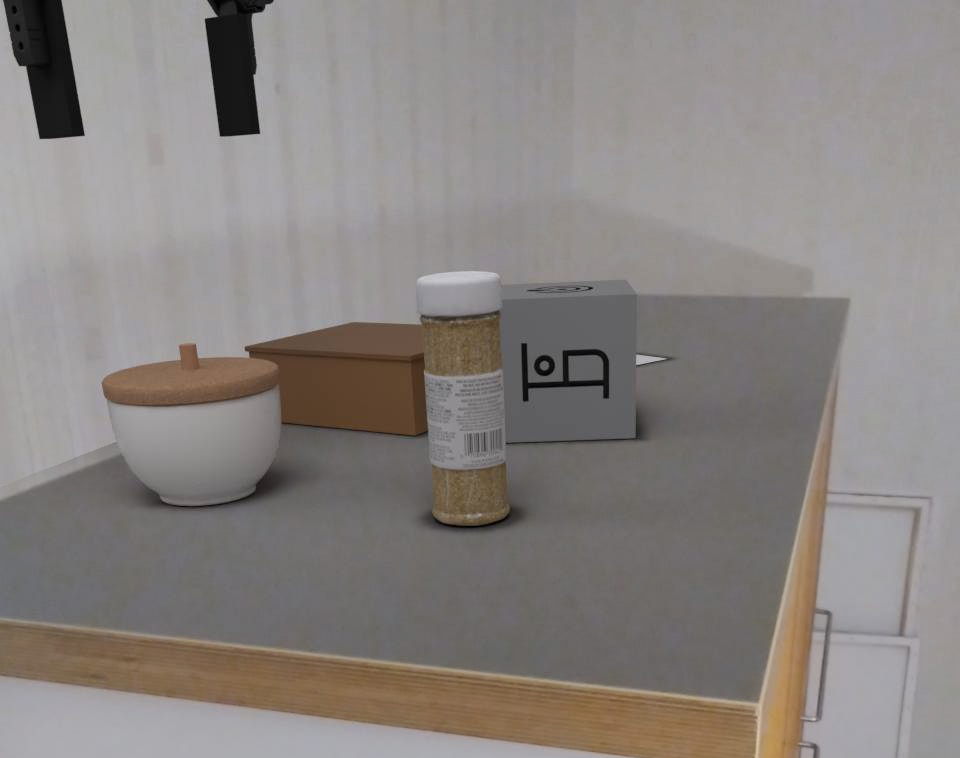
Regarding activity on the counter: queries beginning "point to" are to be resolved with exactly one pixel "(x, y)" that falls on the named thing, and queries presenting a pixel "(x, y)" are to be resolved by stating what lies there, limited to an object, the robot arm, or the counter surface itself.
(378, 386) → the takeaway box
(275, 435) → the trinket box
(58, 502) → the counter surface
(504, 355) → the icon cube
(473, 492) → the sprinkles bottle
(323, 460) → the counter surface
